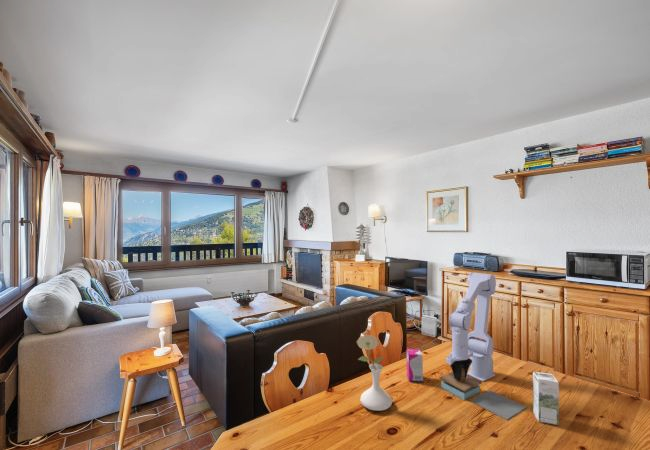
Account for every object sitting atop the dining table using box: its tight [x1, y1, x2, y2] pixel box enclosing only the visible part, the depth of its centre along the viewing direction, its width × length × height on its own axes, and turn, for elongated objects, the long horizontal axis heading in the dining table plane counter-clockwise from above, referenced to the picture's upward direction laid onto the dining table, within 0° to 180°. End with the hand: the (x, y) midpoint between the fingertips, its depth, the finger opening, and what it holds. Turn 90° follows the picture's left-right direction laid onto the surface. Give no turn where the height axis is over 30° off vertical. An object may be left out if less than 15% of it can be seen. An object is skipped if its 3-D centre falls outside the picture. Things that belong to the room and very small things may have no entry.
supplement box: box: [406, 348, 424, 383], centre depth 128 cm, size 6×6×12 cm
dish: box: [440, 380, 481, 401], centre depth 118 cm, size 10×10×2 cm
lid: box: [439, 368, 483, 391], centre depth 119 cm, size 11×11×5 cm
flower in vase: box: [356, 334, 393, 412], centre depth 110 cm, size 13×11×25 cm
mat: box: [470, 389, 528, 421], centre depth 109 cm, size 13×13×1 cm
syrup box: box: [532, 371, 560, 426], centre depth 101 cm, size 6×6×14 cm
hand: (460, 378), depth 119 cm, fingers closed on lid, 3 cm apart
